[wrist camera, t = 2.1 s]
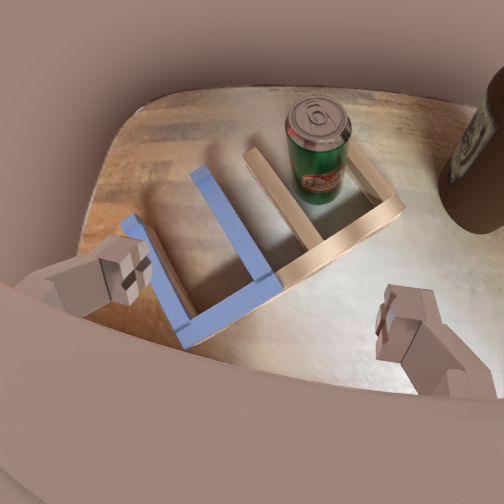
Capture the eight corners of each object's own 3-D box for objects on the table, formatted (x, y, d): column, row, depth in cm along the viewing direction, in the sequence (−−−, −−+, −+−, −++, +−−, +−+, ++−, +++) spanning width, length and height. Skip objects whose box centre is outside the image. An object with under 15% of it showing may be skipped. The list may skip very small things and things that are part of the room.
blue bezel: (210, 172, 32) (205, 164, 31) (284, 290, 28) (283, 287, 27) (128, 228, 33) (119, 222, 31) (187, 349, 29) (179, 349, 27)
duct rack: (323, 124, 35) (323, 108, 32) (398, 217, 31) (406, 206, 28) (142, 236, 35) (129, 229, 33) (197, 345, 32) (187, 346, 29)
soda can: (303, 213, 33) (297, 153, 21) (287, 171, 34) (274, 101, 23) (348, 198, 32) (364, 134, 21) (331, 158, 34) (335, 85, 22)
